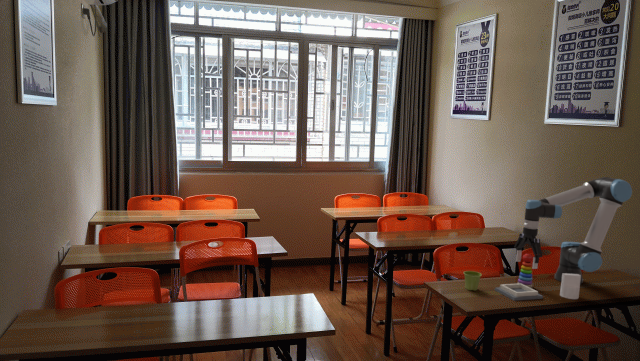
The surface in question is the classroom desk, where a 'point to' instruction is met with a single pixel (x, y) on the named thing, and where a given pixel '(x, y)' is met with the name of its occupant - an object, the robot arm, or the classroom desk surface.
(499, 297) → the classroom desk surface
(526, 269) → the stacking toy
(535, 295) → the board
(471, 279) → the plant pot
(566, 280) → the cylinder with rectangular tab
